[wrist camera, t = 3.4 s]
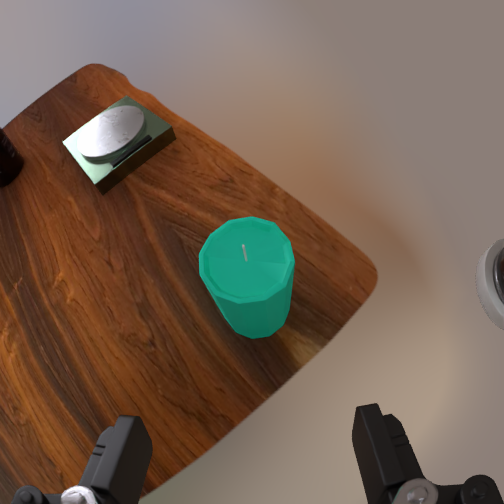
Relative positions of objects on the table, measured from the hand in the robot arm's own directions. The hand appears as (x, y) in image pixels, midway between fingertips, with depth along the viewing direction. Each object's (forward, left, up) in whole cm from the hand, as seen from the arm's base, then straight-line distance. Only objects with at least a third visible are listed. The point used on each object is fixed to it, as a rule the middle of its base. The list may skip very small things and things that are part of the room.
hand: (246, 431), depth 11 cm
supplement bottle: (+28, -44, -16) cm, 55 cm away
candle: (-3, -9, -16) cm, 19 cm away
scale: (+7, -37, -16) cm, 41 cm away
